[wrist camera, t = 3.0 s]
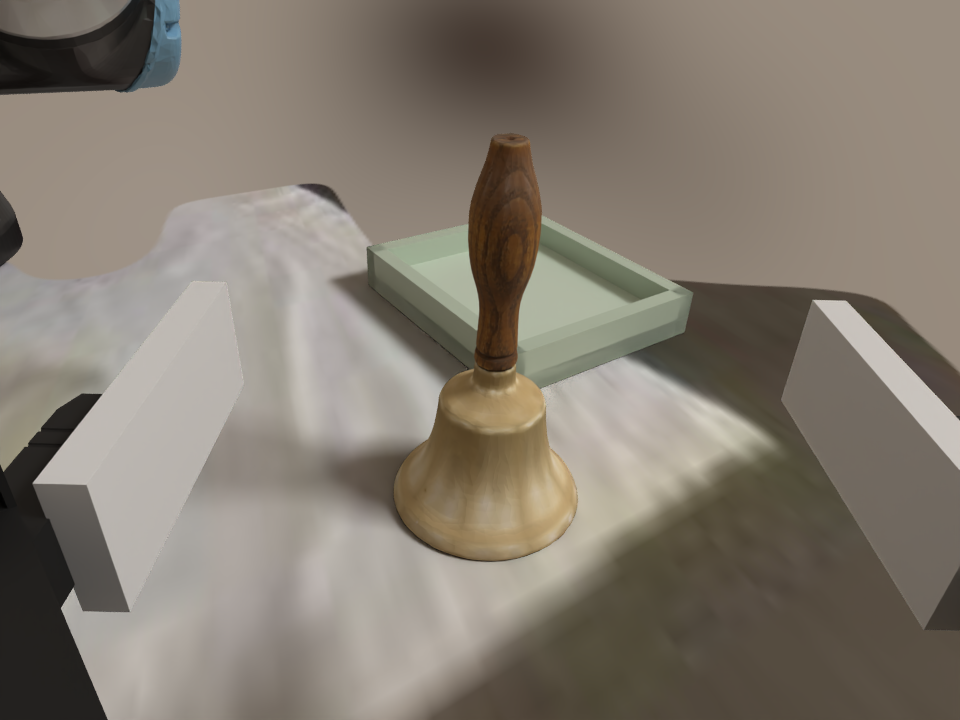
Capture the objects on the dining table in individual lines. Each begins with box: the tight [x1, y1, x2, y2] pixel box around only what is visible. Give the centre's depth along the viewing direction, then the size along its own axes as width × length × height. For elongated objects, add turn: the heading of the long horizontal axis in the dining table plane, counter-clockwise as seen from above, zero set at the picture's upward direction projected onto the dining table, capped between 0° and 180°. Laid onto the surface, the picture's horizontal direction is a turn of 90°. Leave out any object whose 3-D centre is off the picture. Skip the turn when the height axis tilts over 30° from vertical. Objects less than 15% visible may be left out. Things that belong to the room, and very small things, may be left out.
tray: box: [367, 216, 693, 389], centre depth 46 cm, size 16×14×3 cm
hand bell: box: [394, 133, 578, 561], centre depth 28 cm, size 8×8×16 cm
